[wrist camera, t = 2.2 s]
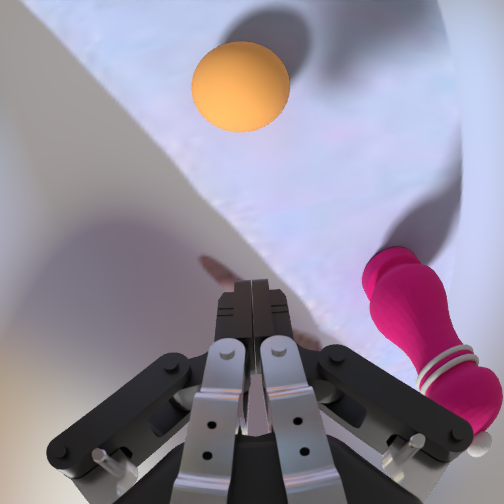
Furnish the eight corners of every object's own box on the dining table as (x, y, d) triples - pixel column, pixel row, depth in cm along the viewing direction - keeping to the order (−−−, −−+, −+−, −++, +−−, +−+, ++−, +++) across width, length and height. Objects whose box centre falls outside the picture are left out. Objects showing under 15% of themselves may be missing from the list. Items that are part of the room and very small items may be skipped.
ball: (196, 52, 17) (178, 39, 12) (281, 47, 17) (294, 31, 12) (202, 129, 20) (188, 144, 15) (285, 124, 20) (299, 136, 15)
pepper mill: (426, 239, 25) (547, 404, 8) (411, 297, 29) (491, 455, 12) (361, 243, 26) (470, 453, 8) (351, 304, 29) (415, 490, 12)
